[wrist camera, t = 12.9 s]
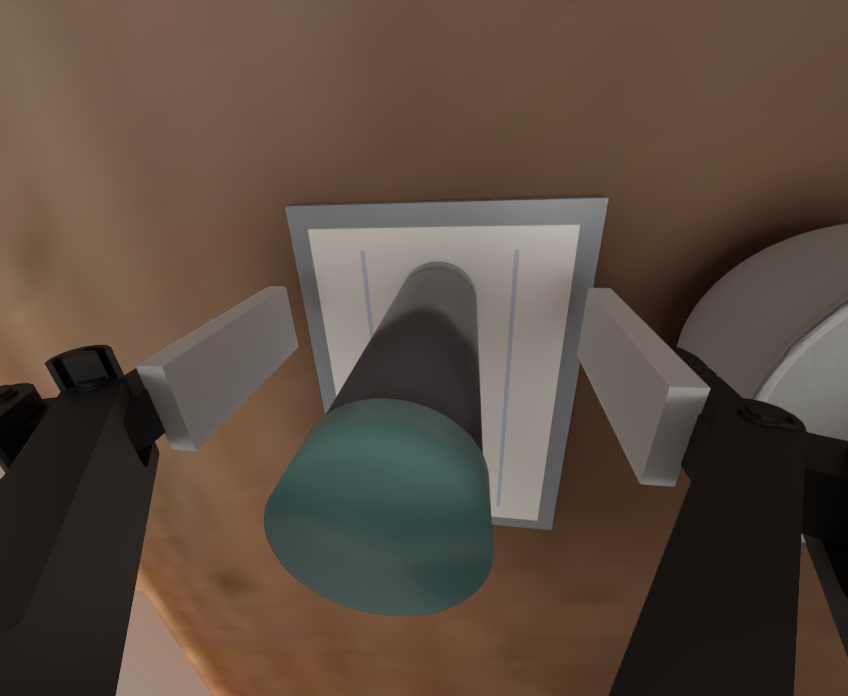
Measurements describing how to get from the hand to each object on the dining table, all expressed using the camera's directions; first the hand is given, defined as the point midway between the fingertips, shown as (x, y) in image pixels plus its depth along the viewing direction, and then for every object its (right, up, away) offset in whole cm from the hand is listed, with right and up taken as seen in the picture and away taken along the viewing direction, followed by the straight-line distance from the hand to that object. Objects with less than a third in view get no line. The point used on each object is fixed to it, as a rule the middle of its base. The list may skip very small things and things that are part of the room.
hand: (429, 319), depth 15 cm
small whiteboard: (+1, -3, +7) cm, 7 cm away
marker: (0, +1, +3) cm, 3 cm away
